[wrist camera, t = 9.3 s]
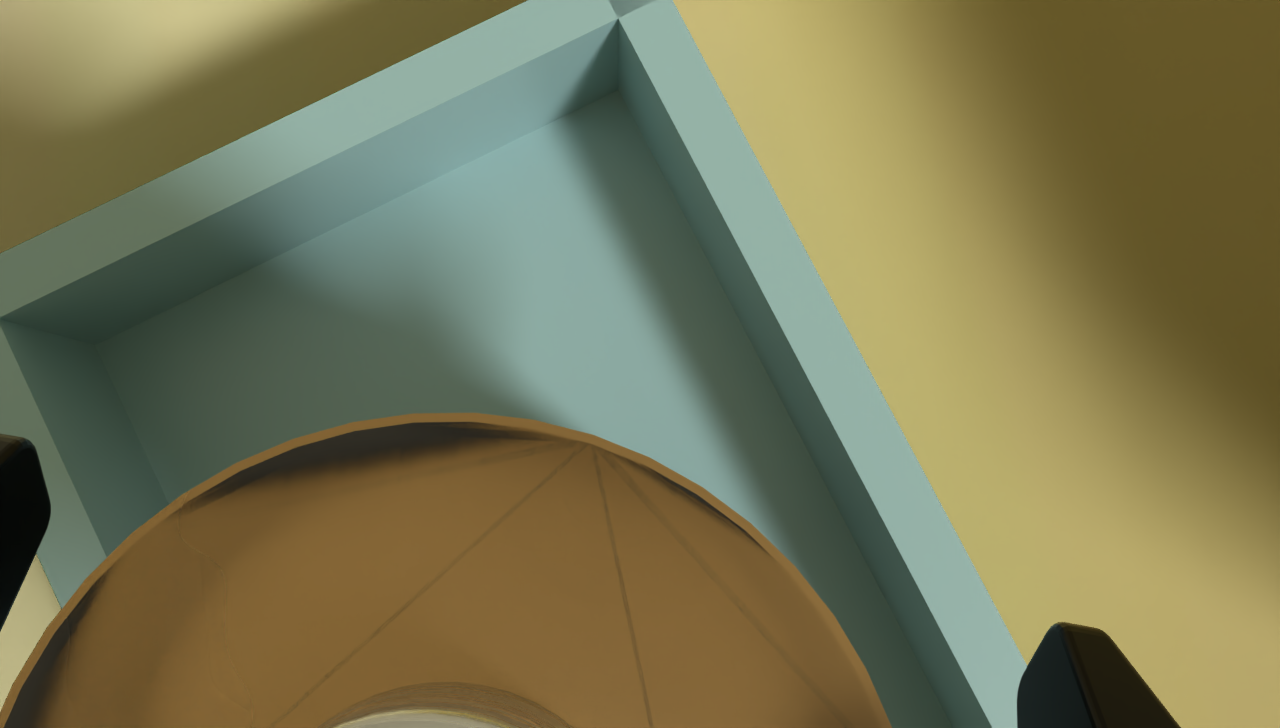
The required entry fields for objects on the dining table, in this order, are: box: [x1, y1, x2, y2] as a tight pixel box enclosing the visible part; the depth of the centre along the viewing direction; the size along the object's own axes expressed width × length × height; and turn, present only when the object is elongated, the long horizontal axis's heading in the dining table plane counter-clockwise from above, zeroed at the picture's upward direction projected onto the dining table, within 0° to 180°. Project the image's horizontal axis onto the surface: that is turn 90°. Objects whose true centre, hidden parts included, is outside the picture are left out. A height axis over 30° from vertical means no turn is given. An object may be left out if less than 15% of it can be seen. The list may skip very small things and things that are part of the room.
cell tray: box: [0, 0, 1027, 728], centre depth 17 cm, size 16×11×4 cm
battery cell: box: [0, 413, 892, 728], centre depth 12 cm, size 5×5×13 cm
